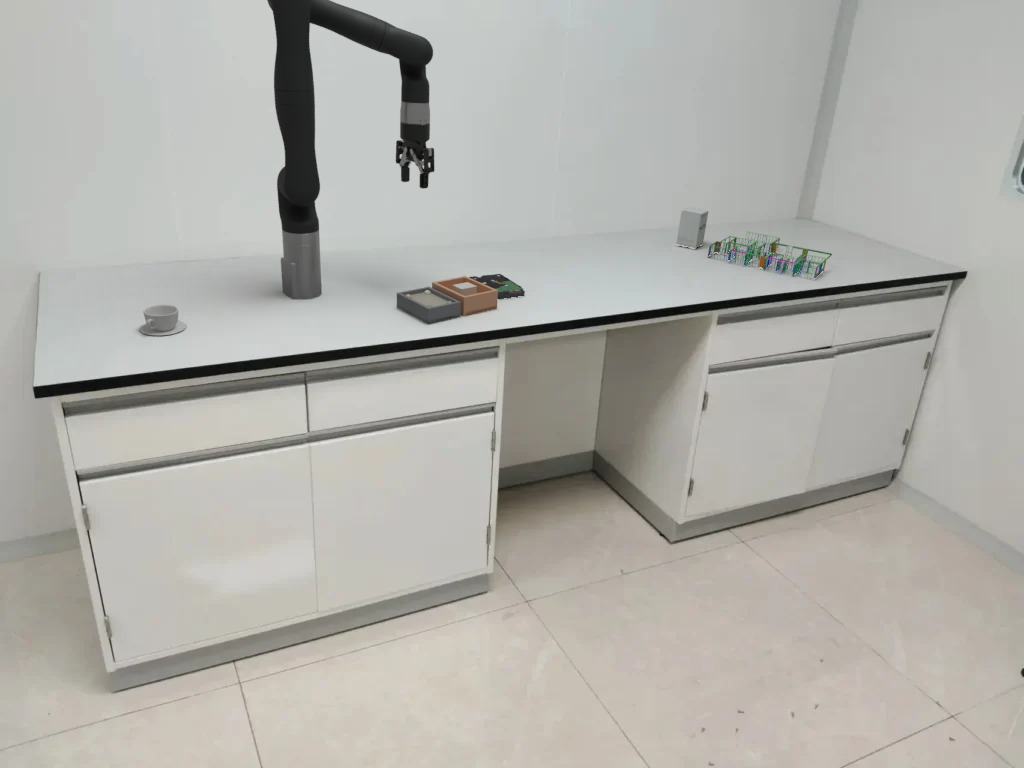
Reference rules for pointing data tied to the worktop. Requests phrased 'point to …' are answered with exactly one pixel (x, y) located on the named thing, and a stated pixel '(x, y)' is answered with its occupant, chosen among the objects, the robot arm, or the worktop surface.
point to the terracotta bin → (470, 303)
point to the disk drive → (501, 285)
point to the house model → (764, 259)
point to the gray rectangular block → (465, 288)
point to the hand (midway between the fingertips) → (414, 184)
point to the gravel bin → (428, 305)
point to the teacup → (162, 320)
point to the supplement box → (692, 227)
